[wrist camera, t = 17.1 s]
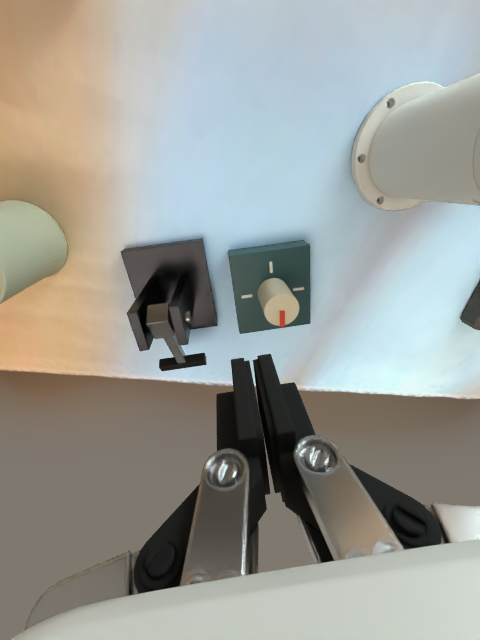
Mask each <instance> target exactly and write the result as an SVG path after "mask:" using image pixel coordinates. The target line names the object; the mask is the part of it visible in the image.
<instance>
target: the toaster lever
mask: <svg viewBox="0 0 480 640" xmlns="http://www.w3.org/2000/svg"><path fill="white" fill-rule="evenodd" d="M146 325H147V327H148V328H149V330H150V332H151V333H152V335H153V337H154V338H155V339H158V338H164V340H165V342H166V343H167V345H168V347H169V349H170V350H171V352H172V354H173V356H174V357H172V358H166V359H160V361H159V368H160V369H161V371H167V370H174V369H180V368H187V367H194V366H201V365H206V356H205V353H200V354H193V355H185V353H184V351H183V349H182V347H181V345H178V341H177V337H176V335H175V330H174V326H173V322H172V319H171V315H170V311H169V303H162V304H155V305H148V306H147V318H146Z"/></svg>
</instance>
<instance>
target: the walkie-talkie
mask: <svg viewBox="0 0 480 640" xmlns="http://www.w3.org/2000/svg"><path fill="white" fill-rule="evenodd" d="M461 320H462V322H464V323H465V324H467V325H469V326H471V327H472V328H474V329H477V330H480V283H479V284H478V286H477V288H476V290H475V292H474V294H473V295H472V297H471V299H470V301H469V303H468V305H467V307H466V308H465V310H464V312H463V314H462V316H461Z"/></svg>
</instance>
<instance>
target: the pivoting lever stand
mask: <svg viewBox="0 0 480 640" xmlns="http://www.w3.org/2000/svg"><path fill="white" fill-rule="evenodd" d="M121 255H122V258H123V261H124V264H125V267H126V270H127V273H128V277H129V280H130V283H131V286H132V289H133V292H134V295H135V298H136V300H135V302H134V303H133V305H132V306H131V308H130V309H129V311H128V312H127V315H128V318H129V321H130V324H131V328H132V330H133V332H134V335H135V338H136V341H137V344H138V347H139V350H140V351H144V350H149V349H150V346H151V344H152V341H153V338H154V337H153V335H152V333H151V332H150V330H149V328H148V327H147V325H146V318H147V306H148V305H155V304H162V303H169V311H170V315H171V319H172V322H173V326H174V330H175V334H176V337H177V341H178V345H186V344H188V342H189V335H190V330H191V329H198V328H204V327H211V326H217V317H216V312H215V306H214V301H213V295H212V289H211V284H210V278H209V273H208V267H207V261H206V256H205V250H204V245H203V239H202V238H201V239H193V240H186V241H179V242H172V243H165V244H157V245H150V246H143V247H136V248H129V249H124V250H122V251H121Z"/></svg>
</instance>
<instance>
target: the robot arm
mask: <svg viewBox="0 0 480 640" xmlns="http://www.w3.org/2000/svg"><path fill="white" fill-rule="evenodd" d="M387 103H388V107H387ZM358 156H359V157H360V160H359V161H358ZM351 170H352V177H353V181H354V184H355V187H356V189H357V191H358V193H359V194H360V195H361V197H362V198H363V199H364V200H365V201H366V202H367V203H369V204H370V205H372V206H374V207H376V208H378V209H382V210H388V211H399V210H406V209H408V208H411V207H414V206H416V205H418V204H420V203H422V202H424V201H425V200H427V201H437V202H448V203H458V204H468V205H479V206H480V73H479V74H477V75H474V76H472V77H469V78H467V79H464V80H462V81H459V82H457V83H454V84H452V85H449V86H447V87H442V86H441V85H439V84H435V83H432V82H415V83H411V84H407V85H405V86H403V87H401V88H398V89H396V90H395V91H393V92H391V93H390V94H388V95H386V96H385V97H384V98H383V99H382V100H381V101H379V102H378V103H377V104H376V105H375V106H374V108H373V109H372V110H371V111H370V112H369V114H368V115H367V116H366V118H365V120H364V121H363V123H362V125H361V126H360V129H359V131H358V134H357V136H356V138H355V142H354V146H353V150H352V158H351ZM377 199H378V201H377ZM253 364H254V372H255V381H256V389H257V397H258V404H257V399H256V394H255V388H254V383H253V378H252V373H251V368H250V362H249V361H244V358H239V359H232V360H231V366H232V377H233V388H234V391H233V392H226V393H220V394H217V452H215V453H213V454H212V455H211V456H210V457H209V458H208V459H207V461H206V462H205V464H204V467H203V470H202V475H201V481H200V484H199V485H198V486H197V487H196V489H195V490H194V491H193V492H192V493H191V494H190V495H189V496H188V497H187V498H186V500H185V501H184V502H183V503H182V504H181V505H180V506H179V507H178V509H176V510H175V512H174V513H173V514H172V515H171V516H170V517H169V518H168V519H167V520H166V521H165V522H164V523H163V525H162V526H161V527H160V528H159V529H158V530H157V531H156V532H155V533H154V534H153V536H152V537H151V538H150V539H149V540H148V541H147V542H146V544H145V545H144V546H143V548H142V549H141V550H139V551H137V552H135V553H132V554H131V552H130V551H128V552H126V553H123V554H121V555H119V556H116V557H114V558H111V559H109V560H107V561H104V562H102V563H100V564H97V565H95V566H93V567H90V568H88V569H86V570H84V571H81V572H79V573H77V574H74V575H72V576H69V577H67V578H65V579H63V580H60V581H59V582H57V583H55V584H54V585H52V586H51V587H49V588H48V589H47V591H45V592H44V594H43V595H41V596H40V598H39V599H38V601H37V602H36V604H35V606H34V607H33V609H32V610H31V613H30V615H29V618H28V621H27V623H26V627H25V631H24V632H22V633H20V634H18V635H17V636H16V637H14V638H13V639H11V640H480V507H478V506H467V505H456V504H445V503H433V502H432V505H431V506H428V505H422V504H421V503H420V502H418V501H416V500H415V499H413V498H412V497H410V496H408V495H406V494H404V493H402V492H400V491H398V490H396V489H394V488H393V487H391V486H389V485H387V484H386V483H384V482H382V481H380V480H378V479H376V478H374V477H372V476H371V475H369V474H367V473H365V472H363V471H361V470H359V469H358V468H356V467H354V466H352V465H350V464H349V463H348V462H347V460H346V459H345V457H344V456H343V454H342V452H341V451H340V449H339V448H338V447H337V446H336V445H335V443H334V442H332V441H331V440H329V439H328V438H325V437H322V436H316V435H315V432H314V430H313V427H312V424H311V422H310V420H309V417H308V415H307V412H306V409H305V407H304V404H303V402H302V399H301V397H300V394H299V392H298V389H297V387H296V384H295V383H294V382H293V383H286V384H280V382H279V379H278V375H277V372H276V369H275V366H274V363H273V360H272V357H271V354H266V355H260V356H258V359H256V360H253ZM258 406H259V409H258ZM259 413H260V414H259ZM260 418H261V420H260ZM261 423H262V425H261ZM262 429H263V430H262ZM263 434H264V436H263ZM264 439H265V444H266V449H267V454H268V460H269V465H270V469H271V475H272V479H273V485H274V491H275V493H279V492H281V496H282V500H283V502H285V505H286V507H287V508H289V509H290V510H292V511H293V512H294V513H296V515H297V519H298V522H299V525H300V527H301V530H302V532H303V535H304V537H305V540H306V542H307V545H308V548H309V550H310V553H311V555H312V558H313V560H314V563H315V564H313V565H306V566H300V567H295V568H288V569H282V570H276V571H269V572H264V573H258V542H259V541H258V540H259V539H258V537H259V536H258V535H259V527H258V521H259V520H260V518H261V517H262V515H263V514H264V512H265V511H266V509H267V508H266V501H265V495H266V494H270V487H269V478H268V470H267V461H266V452H265V445H264Z"/></svg>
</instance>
